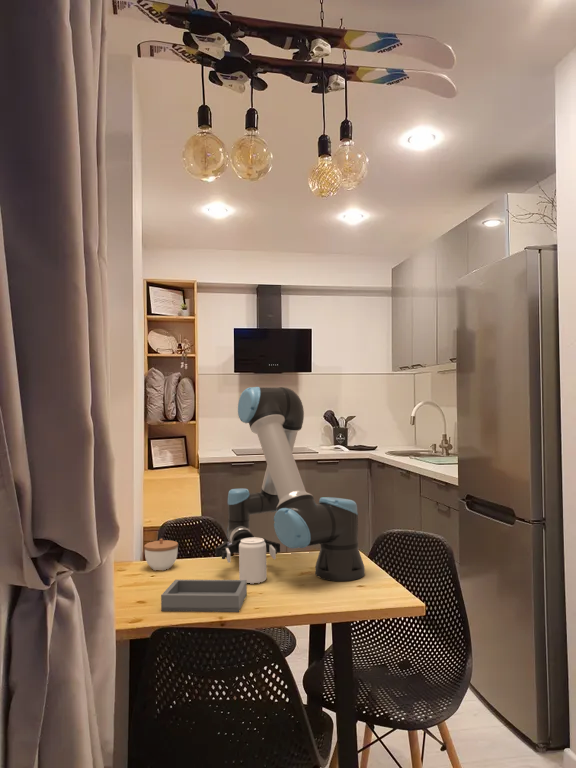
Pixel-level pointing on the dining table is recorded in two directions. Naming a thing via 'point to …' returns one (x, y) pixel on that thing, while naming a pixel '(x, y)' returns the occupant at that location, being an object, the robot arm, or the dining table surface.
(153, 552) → the lidded jar
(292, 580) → the dining table surface
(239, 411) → the robot arm
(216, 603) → the parts tray
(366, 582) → the dining table surface
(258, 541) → the beverage can
